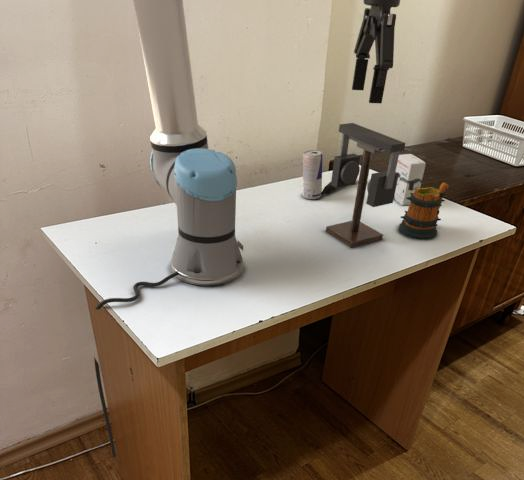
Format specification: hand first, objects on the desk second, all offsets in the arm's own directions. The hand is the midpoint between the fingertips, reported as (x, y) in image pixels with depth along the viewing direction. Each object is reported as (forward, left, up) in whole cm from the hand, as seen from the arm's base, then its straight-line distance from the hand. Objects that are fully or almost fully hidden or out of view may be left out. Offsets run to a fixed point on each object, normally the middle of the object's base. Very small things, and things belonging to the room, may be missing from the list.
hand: (365, 96), depth 117 cm
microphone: (+11, +19, -30) cm, 37 cm away
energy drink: (+1, +16, -30) cm, 34 cm away
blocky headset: (-6, -9, -19) cm, 22 cm away
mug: (+12, -15, -30) cm, 35 cm away
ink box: (+23, +3, -30) cm, 38 cm away
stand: (-6, -9, -30) cm, 32 cm away
